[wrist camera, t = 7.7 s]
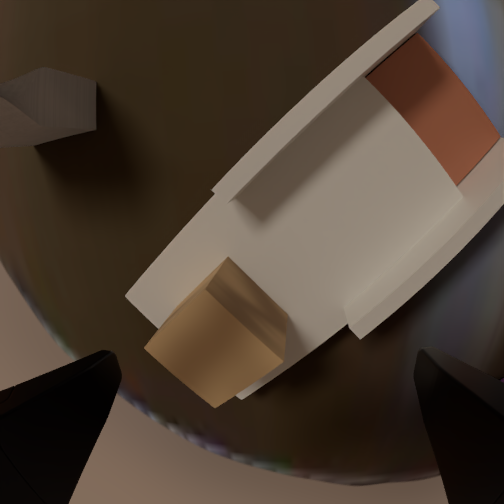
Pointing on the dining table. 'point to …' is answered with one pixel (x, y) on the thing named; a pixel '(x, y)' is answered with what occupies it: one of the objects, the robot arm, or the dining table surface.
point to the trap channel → (346, 196)
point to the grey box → (45, 107)
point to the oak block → (222, 335)
